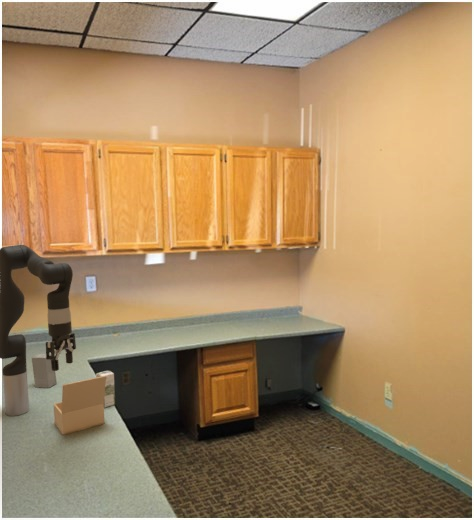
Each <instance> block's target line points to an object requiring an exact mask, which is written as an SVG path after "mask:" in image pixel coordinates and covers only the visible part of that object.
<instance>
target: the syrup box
mask: <svg viewBox="0 0 474 520" xmlns="http://www.w3.org/2000/svg"><path fill="white" fill-rule="evenodd" d="M101 376H106V384H105V396H104V409H106V408H109V407H112V406H115V405H116V395H115V392H116V391H115V373H114V372H112V371H111V370H104V371H101V372H97V373H96V374H95V378H96V377H101Z"/></svg>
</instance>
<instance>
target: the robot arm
mask: <svg viewBox="0 0 474 520" xmlns="http://www.w3.org/2000/svg"><path fill="white" fill-rule="evenodd" d="M25 268H27V270H28V271H29V273H30V274H31V275H33V276H35V277H37V278H39V280H40V282H41V283H42V284H44V285H47V286H52V285H58V286H57V289H55V290H52V291H49V292H48V293H47V295H46V301H47V329H48V335H49V336H50V337H51V341H46V342H45V354H46V359H47V360H51V366H52V370H53V371H55V372H58V371H59V369H60V366H59V357H60V354H62V351H64V352H65V363H66V364H72V363H73V361H74V357H73V356H74V355H73V353H74V350H76V349H77V345H76V334H75V333H74V332H73V329H72V314H71V309H70V299H69V298H70V297H69V296H70V291H71V285H72V282H73V276H74V273H73V268H72V266H71V265H70V264H69V263H65V262H62V263H61V262H60V263H54V262H53V261H52V260H49V259H47V258H45V257H42V256H40V255H39V254H37V253H36V252H35V251H34V250H33V249H32V248H30V247H29V246H27V245H25V244H16V245H8V246H7V245H6V246H2V247H1V248H0V359H1V360H4V359H5V360H7V359H13V358H15V359H14V360H12V362H10V363H8V364H6V365H5V366H3V368H2V381H3V382H2V383H3V395H4V410H5V411H4V412H5V413H4V414H5V415H6V416H9V417H13V416H14V417H16V416H20V415H24V414H26V413H28V412H29V411H30V398H29V386H28V385H29V384H28V369H27V341H26V337H25V335H24V334H22V333H20V334H13V335H9V334H10V333H11V331H12V328H13V327H14V326H15V325H16V324H17V322H18V321H19V320H20V319H21V317H22V316H23V313H24V311H25V296H24V293H23V291H22V290H21V289H20V288H19V286H18V285H17V284H16V283H15V282H14V280H13V278H12V277H13V276H12V272H13V270H19V269H20V270H21V269H25ZM72 332H73V333H72ZM49 354H51V355H50V356H49Z"/></svg>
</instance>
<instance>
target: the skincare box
mask: <svg viewBox="0 0 474 520" xmlns="http://www.w3.org/2000/svg"><path fill="white" fill-rule="evenodd" d="M50 355H51V353H49V356H50ZM31 363H32V364H31V365H32V372H33V379H34V387H35V388H39V387H40V389H42V388H43V389H45V388H46V389H49V388H51V387H53V386H55V385H57V374H56V371H53V370H52V366H51V360H47V359H46V353H38V354H36V355H33V356H32V357H31Z"/></svg>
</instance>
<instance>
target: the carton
mask: <svg viewBox="0 0 474 520" xmlns="http://www.w3.org/2000/svg"><path fill="white" fill-rule="evenodd" d="M53 417H54V424H55V426H56V428H57V429H58V430H59V432H60V433H61V434H62V435H69V434H72V433H75V432H79V431H83V430H86V429H90V428H93V427H98V426H100V425H101V426H102V425H105V423H106V422H105V420H106V419H105V408H104V404H101V405H96V406H92V407H88V408H84V409H80V410H76V411H72V412H68V413H64V414H62V401H61V402H60V401H59V402H55V403H53Z"/></svg>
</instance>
